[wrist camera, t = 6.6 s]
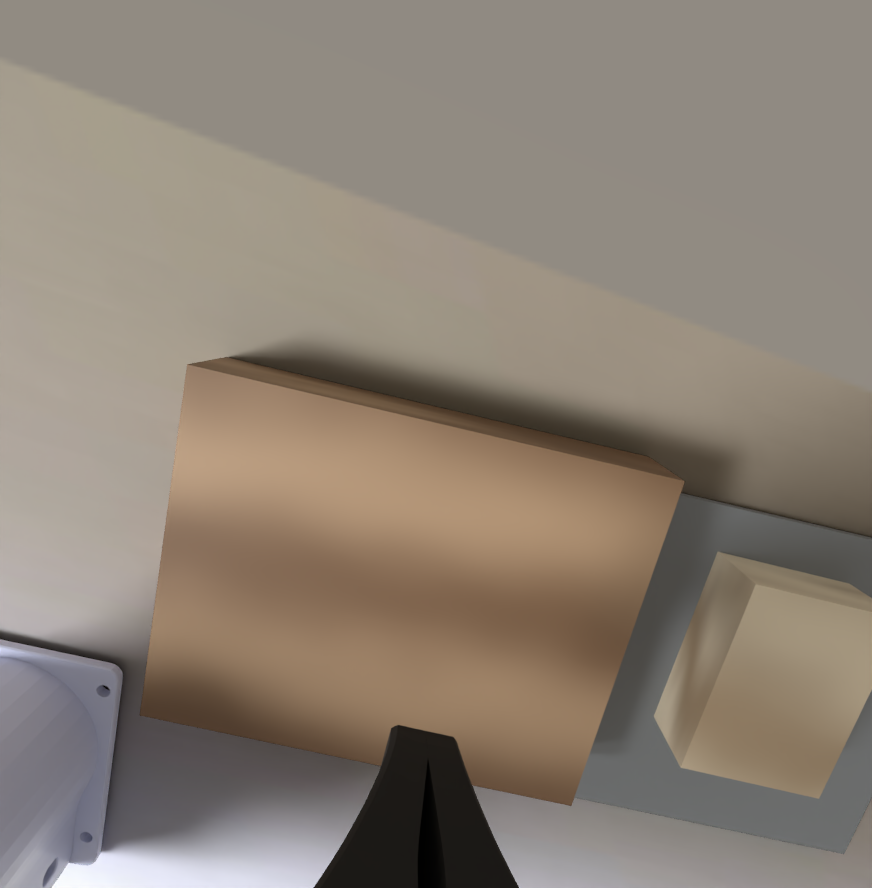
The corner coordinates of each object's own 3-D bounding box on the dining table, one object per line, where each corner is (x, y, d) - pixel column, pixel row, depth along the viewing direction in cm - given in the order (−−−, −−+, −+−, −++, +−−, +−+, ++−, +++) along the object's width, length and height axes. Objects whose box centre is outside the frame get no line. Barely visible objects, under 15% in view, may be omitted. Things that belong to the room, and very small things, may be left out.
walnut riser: (554, 741, 22) (571, 805, 19) (180, 661, 22) (139, 715, 19) (648, 456, 20) (684, 481, 17) (226, 357, 19) (187, 364, 16)
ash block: (680, 767, 19) (653, 716, 21) (818, 798, 19) (776, 744, 22) (755, 584, 18) (717, 551, 20) (905, 620, 18) (849, 583, 20)
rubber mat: (837, 845, 23) (843, 854, 23) (547, 783, 23) (549, 792, 22) (975, 561, 20) (985, 566, 20) (648, 485, 20) (652, 488, 19)
